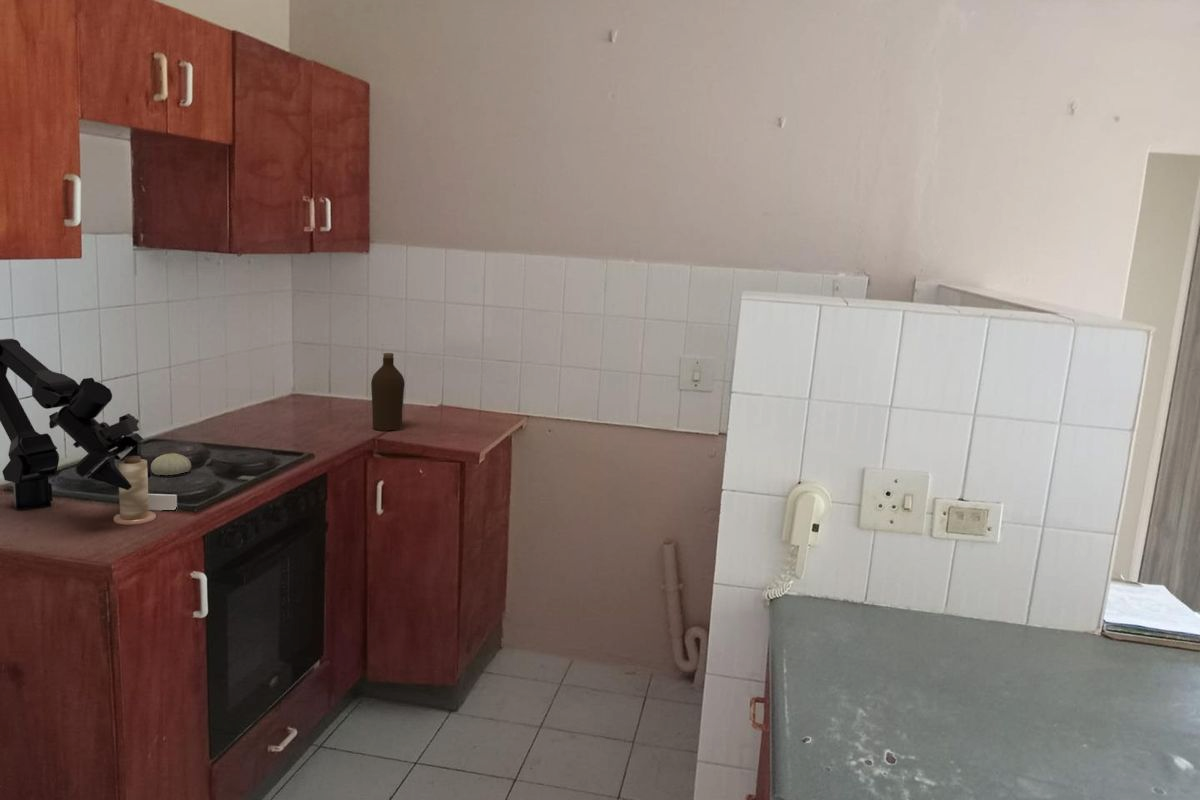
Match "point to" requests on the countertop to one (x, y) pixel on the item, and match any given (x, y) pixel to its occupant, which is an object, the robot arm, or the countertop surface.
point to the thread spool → (134, 489)
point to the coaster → (133, 522)
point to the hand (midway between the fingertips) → (140, 482)
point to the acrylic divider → (162, 502)
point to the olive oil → (387, 396)
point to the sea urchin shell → (170, 464)
